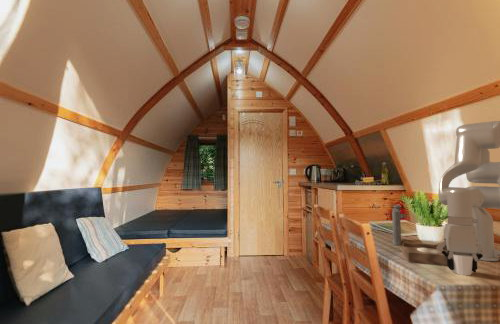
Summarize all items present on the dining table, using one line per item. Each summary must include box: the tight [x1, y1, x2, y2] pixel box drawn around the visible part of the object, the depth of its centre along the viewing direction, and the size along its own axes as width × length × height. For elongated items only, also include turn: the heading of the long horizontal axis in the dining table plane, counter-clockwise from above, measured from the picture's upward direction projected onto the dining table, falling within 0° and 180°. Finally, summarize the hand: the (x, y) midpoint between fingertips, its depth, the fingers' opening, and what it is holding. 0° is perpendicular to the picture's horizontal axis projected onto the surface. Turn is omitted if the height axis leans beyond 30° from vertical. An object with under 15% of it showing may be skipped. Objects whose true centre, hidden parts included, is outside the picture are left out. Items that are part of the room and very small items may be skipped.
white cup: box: [452, 252, 473, 276], centre depth 103 cm, size 7×7×7 cm
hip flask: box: [391, 205, 402, 246], centre depth 152 cm, size 16×4×20 cm, turn 152°
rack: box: [402, 241, 447, 267], centre depth 118 cm, size 18×12×6 cm, turn 71°
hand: (461, 269), depth 103 cm, fingers closed on white cup, 6 cm apart
